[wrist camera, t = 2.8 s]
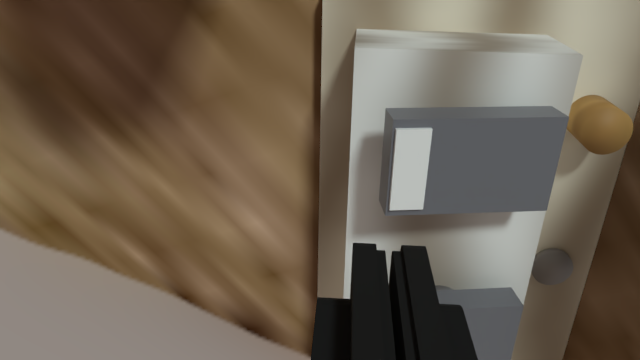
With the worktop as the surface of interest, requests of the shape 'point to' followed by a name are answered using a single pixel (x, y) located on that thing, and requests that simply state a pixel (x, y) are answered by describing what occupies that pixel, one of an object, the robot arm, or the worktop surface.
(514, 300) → the rocker
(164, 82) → the worktop surface
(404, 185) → the block
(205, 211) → the worktop surface
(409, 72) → the switch unit
